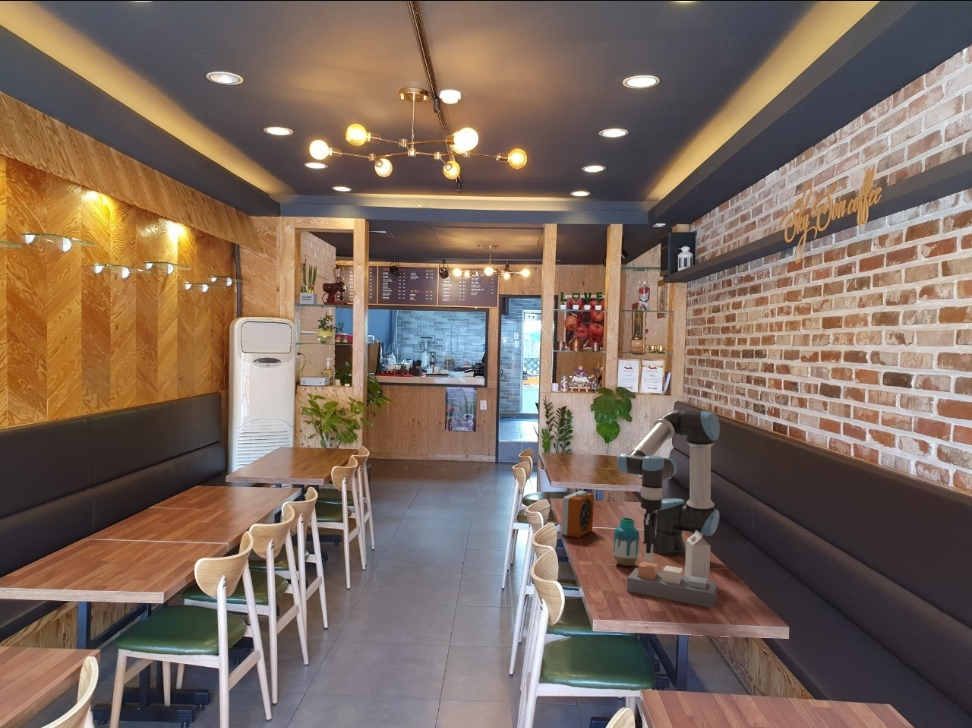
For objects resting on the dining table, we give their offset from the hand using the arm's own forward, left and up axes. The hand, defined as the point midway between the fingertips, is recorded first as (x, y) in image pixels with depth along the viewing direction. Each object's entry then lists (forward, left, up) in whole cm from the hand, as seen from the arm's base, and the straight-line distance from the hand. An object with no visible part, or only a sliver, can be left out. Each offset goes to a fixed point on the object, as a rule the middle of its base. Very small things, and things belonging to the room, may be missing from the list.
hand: (648, 560), depth 244 cm
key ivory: (0, +9, -7) cm, 12 cm away
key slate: (0, +18, -10) cm, 20 cm away
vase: (-24, -14, -11) cm, 29 cm away
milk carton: (-20, +15, -11) cm, 27 cm away
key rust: (0, 0, -7) cm, 7 cm away
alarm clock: (-59, -46, -11) cm, 75 cm away
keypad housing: (0, +9, -11) cm, 14 cm away
